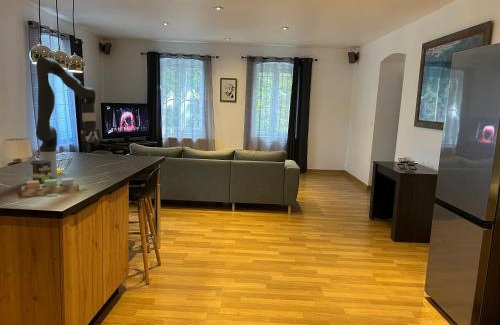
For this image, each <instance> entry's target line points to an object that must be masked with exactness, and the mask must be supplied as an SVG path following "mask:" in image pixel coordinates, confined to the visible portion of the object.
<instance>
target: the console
mask: <svg viewBox="0 0 500 325" xmlns="http://www.w3.org/2000/svg"><path fill="white" fill-rule="evenodd" d="M77 192H78V193H79V192H80V185H79V183H78V182H77V181H74V185H69V186H62V182H57V187H45V184H41V185H39V188H32V189H27V185H21V197H23V198H25V197H33V196H44V195H46V196H47V194H49V193H57V194H58V195H59V194H68V193H77Z"/></svg>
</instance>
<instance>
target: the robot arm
mask: <svg viewBox="0 0 500 325" xmlns="http://www.w3.org/2000/svg"><path fill="white" fill-rule="evenodd" d="M57 61H58V60H57ZM57 61H56V60H55V59H53V58H50V57H45V56H41V57H38V58H37V60H36V67H35V68H36V77H37V121H36V122H37V123H36V131H35V134H36V138H37V139H38V140H39V141H40V142H41V145H40V146H39V161H51V179H56V178H58V162H57V146H58V132H57V130H56V128H55V127H54V126H52V125H51V117H52V114H53V112H54V109H55V105H56V104H55V102H56V97H55V93H54V90H53V88H52V86H51V84H50V81H49V74H53V75H54V76H56V77H59V78H60V80H61V82H62V83H63V84H64V85H65V86H66V87H67V88H69V89H70V90H72V91H73V92H74V94H75V95H76V96H77V97H78V98H80V99H83V100H84V101H85V102H84V103H82V104H81V117H82V118H81V120H82V128H83V129H84V130H80V141H83V143H84V144H83V145H84V148H85V149H87V148H89V147H90V146H89V140H90V138H92V140H93V143H94V144H93V145H94V147H99V140H100V139H101V133H100V129H98V128H97V121H96V120H97V119H96V113H95V102H96V95H97V94H96V91H95V89H94V88H93V87H87V86H86V87H85V86H83V82H82V81H80V80H79V79H78V78H76V77H75V76H73V75H72V74H71V73H69V72H68V71H67V70H66V69H65V68H63V67H62V65H61V64H60V63H59V62H57ZM96 128H97V129H96Z"/></svg>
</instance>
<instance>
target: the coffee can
mask: <svg viewBox="0 0 500 325" xmlns="http://www.w3.org/2000/svg"><path fill="white" fill-rule="evenodd" d="M30 166H31V167H30V168H31V171H30V172H31V181H35V180H39V185H41V184H45V182H44V180H49V179H52V178H51V161H40V160H35V161H34V160H33V161H31V162H30Z"/></svg>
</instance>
